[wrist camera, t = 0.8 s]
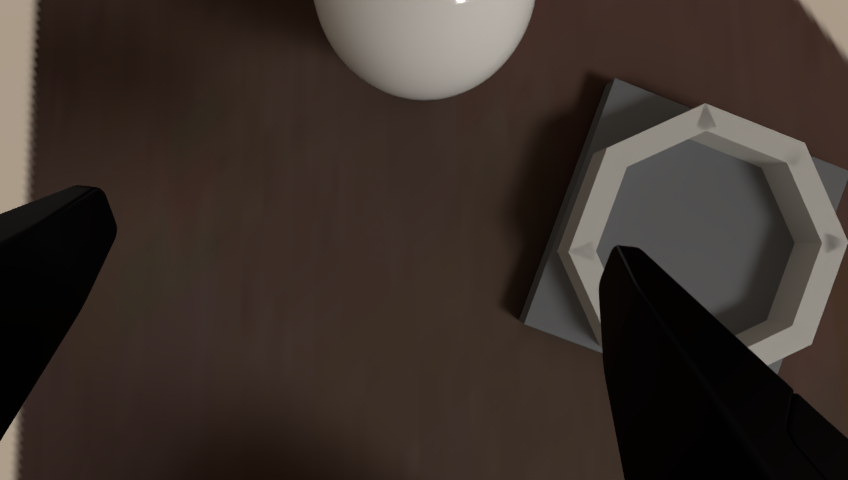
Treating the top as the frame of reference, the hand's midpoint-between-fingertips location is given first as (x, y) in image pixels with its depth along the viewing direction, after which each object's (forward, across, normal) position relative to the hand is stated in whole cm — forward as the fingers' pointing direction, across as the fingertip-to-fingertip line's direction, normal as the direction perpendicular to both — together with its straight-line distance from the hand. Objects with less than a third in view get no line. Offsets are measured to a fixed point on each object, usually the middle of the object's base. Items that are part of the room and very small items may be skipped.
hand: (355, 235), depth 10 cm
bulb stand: (+12, -12, +8) cm, 19 cm away
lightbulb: (+15, 0, +3) cm, 16 cm away
